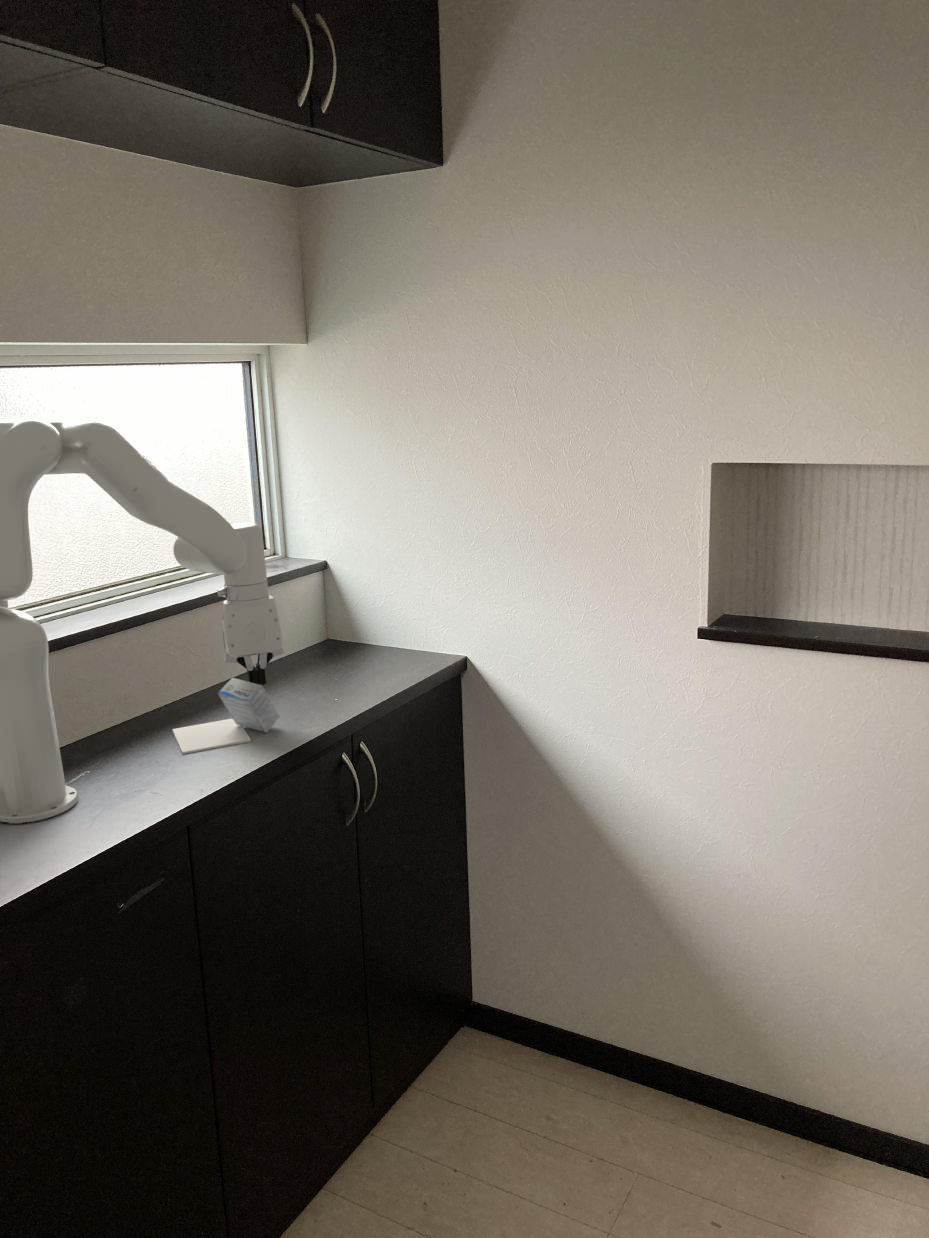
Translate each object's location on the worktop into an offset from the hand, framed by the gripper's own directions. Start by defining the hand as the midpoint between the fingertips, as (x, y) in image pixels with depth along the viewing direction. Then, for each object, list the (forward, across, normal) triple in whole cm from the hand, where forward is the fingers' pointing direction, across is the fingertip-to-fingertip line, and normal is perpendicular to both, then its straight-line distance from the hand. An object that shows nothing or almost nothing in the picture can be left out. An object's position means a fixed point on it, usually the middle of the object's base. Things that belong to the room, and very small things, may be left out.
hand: (257, 688), depth 189 cm
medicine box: (+6, 0, 0) cm, 6 cm away
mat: (+8, -9, 0) cm, 12 cm away
